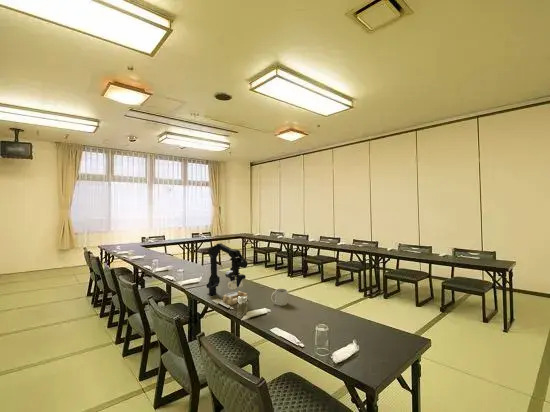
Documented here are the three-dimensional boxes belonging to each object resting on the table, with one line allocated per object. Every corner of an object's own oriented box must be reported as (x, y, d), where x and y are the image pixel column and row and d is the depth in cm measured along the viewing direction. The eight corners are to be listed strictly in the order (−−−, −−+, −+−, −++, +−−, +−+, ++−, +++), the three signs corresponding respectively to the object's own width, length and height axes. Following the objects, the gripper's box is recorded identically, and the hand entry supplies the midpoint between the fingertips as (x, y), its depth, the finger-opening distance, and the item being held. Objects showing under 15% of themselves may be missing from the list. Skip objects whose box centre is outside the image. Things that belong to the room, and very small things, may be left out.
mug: (288, 302, 209) (288, 289, 209) (284, 306, 200) (284, 293, 200) (276, 300, 213) (276, 287, 214) (270, 304, 205) (270, 291, 205)
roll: (232, 290, 207) (232, 282, 207) (227, 288, 212) (227, 280, 212) (242, 287, 215) (242, 279, 215) (238, 285, 219) (238, 278, 219)
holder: (222, 301, 211) (222, 295, 211) (239, 296, 223) (239, 290, 223) (231, 305, 203) (231, 298, 203) (247, 299, 215) (247, 293, 215)
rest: (223, 296, 223) (223, 294, 224) (236, 292, 233) (236, 291, 233) (229, 298, 217) (229, 297, 217) (242, 295, 226) (242, 293, 226)
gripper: (219, 266, 214) (219, 285, 214) (234, 269, 201) (234, 291, 201) (231, 263, 222) (231, 283, 222) (246, 267, 209) (245, 288, 209)
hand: (235, 286), depth 213 cm, fingers closed on roll, 6 cm apart
